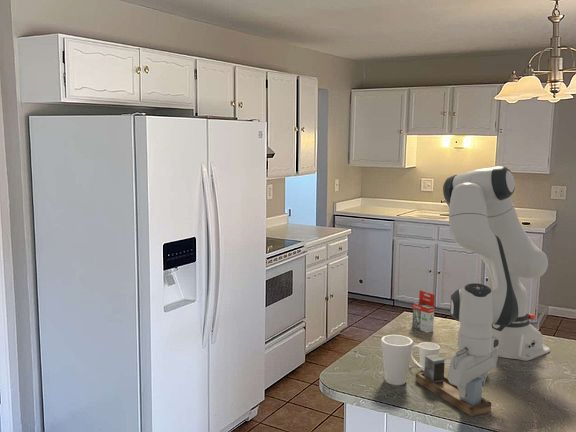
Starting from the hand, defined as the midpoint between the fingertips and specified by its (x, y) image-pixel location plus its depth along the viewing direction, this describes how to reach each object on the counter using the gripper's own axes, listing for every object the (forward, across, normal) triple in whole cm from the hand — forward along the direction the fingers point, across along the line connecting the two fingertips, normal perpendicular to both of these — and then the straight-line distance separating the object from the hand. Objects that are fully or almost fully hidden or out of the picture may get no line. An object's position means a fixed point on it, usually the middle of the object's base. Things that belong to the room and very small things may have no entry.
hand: (471, 391), depth 158 cm
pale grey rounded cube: (+3, 0, 0) cm, 3 cm away
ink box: (+5, +44, +46) cm, 64 cm away
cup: (+5, +13, +24) cm, 28 cm away
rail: (+5, +2, +8) cm, 9 cm away
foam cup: (+5, -2, +25) cm, 25 cm away
